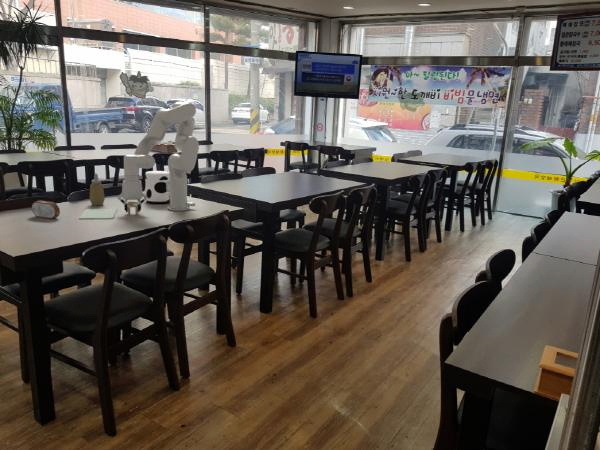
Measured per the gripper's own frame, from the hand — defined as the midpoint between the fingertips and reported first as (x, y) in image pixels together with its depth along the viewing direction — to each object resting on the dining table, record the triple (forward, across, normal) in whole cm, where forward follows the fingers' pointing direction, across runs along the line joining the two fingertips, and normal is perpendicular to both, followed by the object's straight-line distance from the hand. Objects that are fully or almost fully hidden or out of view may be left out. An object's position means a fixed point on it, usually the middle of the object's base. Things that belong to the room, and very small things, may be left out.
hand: (132, 211), depth 260 cm
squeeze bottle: (+2, +21, -25) cm, 33 cm away
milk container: (+2, -13, -34) cm, 36 cm away
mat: (+2, +17, 0) cm, 17 cm away
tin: (+2, +41, +7) cm, 42 cm away
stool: (+2, 0, 0) cm, 2 cm away
